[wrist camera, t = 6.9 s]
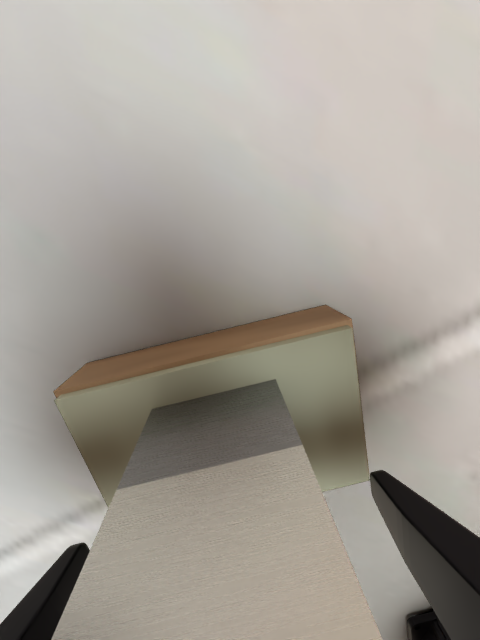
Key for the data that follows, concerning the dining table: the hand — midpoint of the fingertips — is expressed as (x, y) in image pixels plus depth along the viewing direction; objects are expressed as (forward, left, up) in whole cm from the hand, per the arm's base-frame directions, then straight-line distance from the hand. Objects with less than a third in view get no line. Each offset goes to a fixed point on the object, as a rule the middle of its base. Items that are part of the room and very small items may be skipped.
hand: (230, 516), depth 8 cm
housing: (0, 0, -3) cm, 3 cm away
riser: (0, 0, -6) cm, 6 cm away
